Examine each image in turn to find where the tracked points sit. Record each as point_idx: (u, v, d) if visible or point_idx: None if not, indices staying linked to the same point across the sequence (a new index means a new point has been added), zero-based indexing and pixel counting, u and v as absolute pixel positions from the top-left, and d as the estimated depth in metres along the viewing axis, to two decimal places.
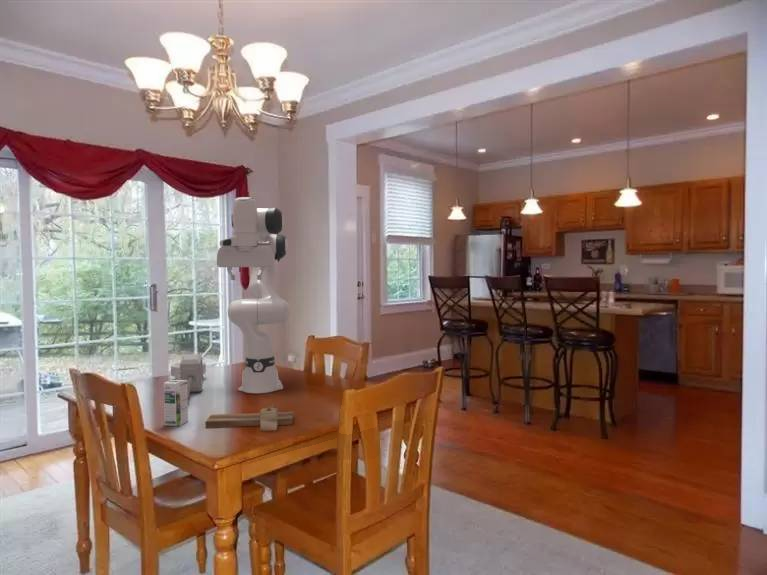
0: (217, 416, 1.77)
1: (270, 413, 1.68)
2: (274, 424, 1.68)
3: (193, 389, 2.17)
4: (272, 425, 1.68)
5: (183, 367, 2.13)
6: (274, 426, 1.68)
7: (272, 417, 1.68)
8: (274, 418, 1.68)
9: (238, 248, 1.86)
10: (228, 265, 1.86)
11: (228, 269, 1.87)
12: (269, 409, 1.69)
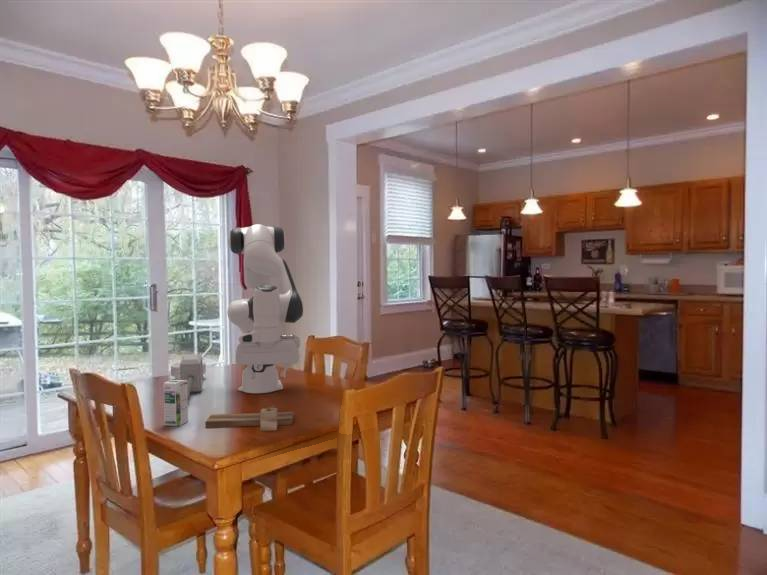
0: (217, 416, 1.77)
1: (270, 413, 1.68)
2: (274, 424, 1.68)
3: (193, 389, 2.17)
4: (272, 425, 1.68)
5: (183, 367, 2.13)
6: (274, 426, 1.68)
7: (272, 417, 1.68)
8: (274, 418, 1.68)
9: (259, 344, 1.66)
10: (248, 363, 1.67)
11: (248, 367, 1.67)
12: (269, 409, 1.69)
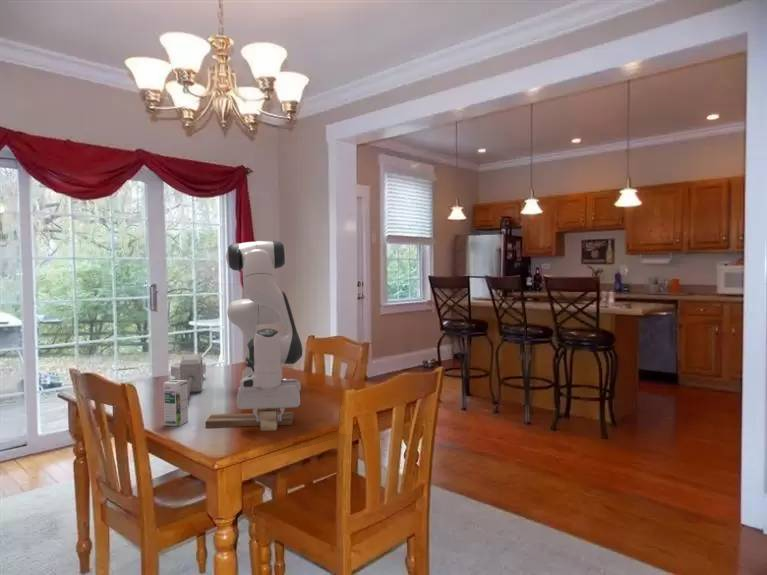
0: (217, 416, 1.77)
1: (270, 413, 1.68)
2: (274, 424, 1.68)
3: (193, 389, 2.17)
4: (272, 425, 1.68)
5: (183, 367, 2.13)
6: (274, 426, 1.68)
7: (272, 417, 1.68)
8: (274, 418, 1.68)
9: (260, 388, 1.67)
10: (249, 407, 1.67)
11: (254, 411, 1.68)
12: (269, 409, 1.69)
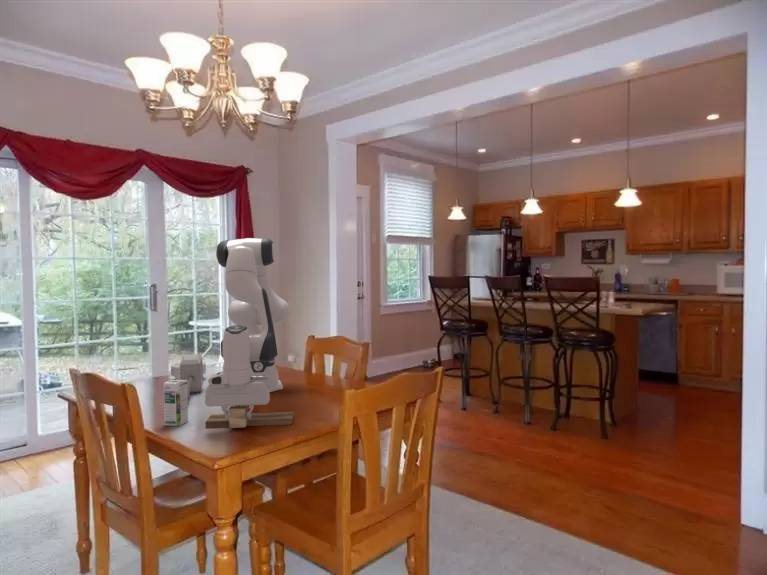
0: (217, 416, 1.77)
1: (239, 410, 1.67)
2: (243, 421, 1.67)
3: (193, 389, 2.17)
4: (241, 422, 1.67)
5: (183, 367, 2.13)
6: (243, 423, 1.67)
7: (241, 414, 1.67)
8: (243, 415, 1.67)
9: (229, 385, 1.66)
10: (218, 404, 1.66)
11: (223, 408, 1.67)
12: (238, 406, 1.68)
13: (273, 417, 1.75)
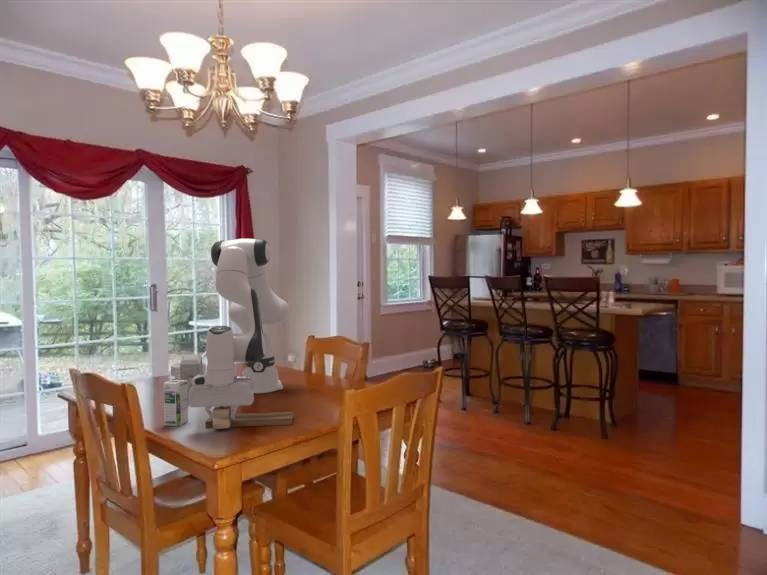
0: None
1: (222, 411, 1.66)
2: (226, 422, 1.67)
3: None
4: (224, 423, 1.67)
5: (183, 367, 2.13)
6: (226, 424, 1.67)
7: (224, 415, 1.67)
8: (226, 416, 1.67)
9: (212, 386, 1.66)
10: (201, 405, 1.66)
11: (206, 409, 1.67)
12: (222, 407, 1.68)
13: (273, 417, 1.75)
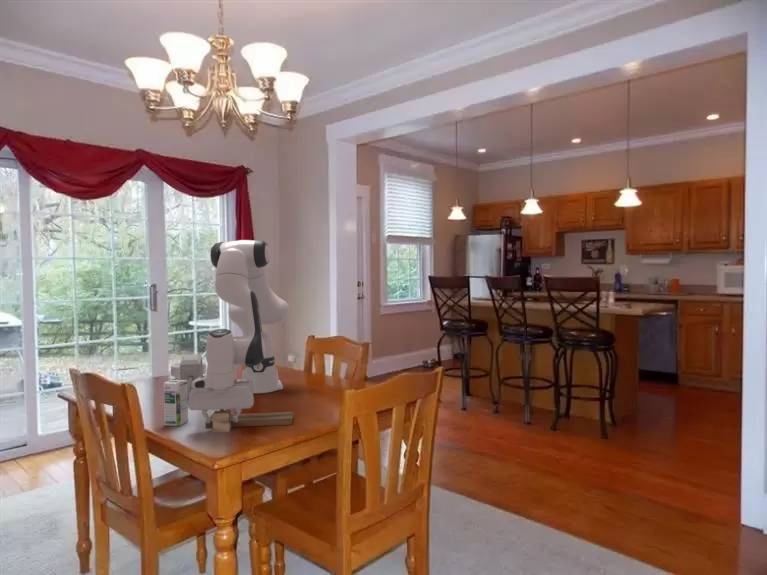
0: None
1: (222, 415, 1.67)
2: (227, 426, 1.67)
3: None
4: (225, 427, 1.67)
5: (183, 367, 2.13)
6: (227, 428, 1.67)
7: (225, 419, 1.67)
8: (227, 420, 1.67)
9: (212, 389, 1.66)
10: (201, 408, 1.66)
11: (203, 412, 1.67)
12: (222, 411, 1.68)
13: (273, 417, 1.75)
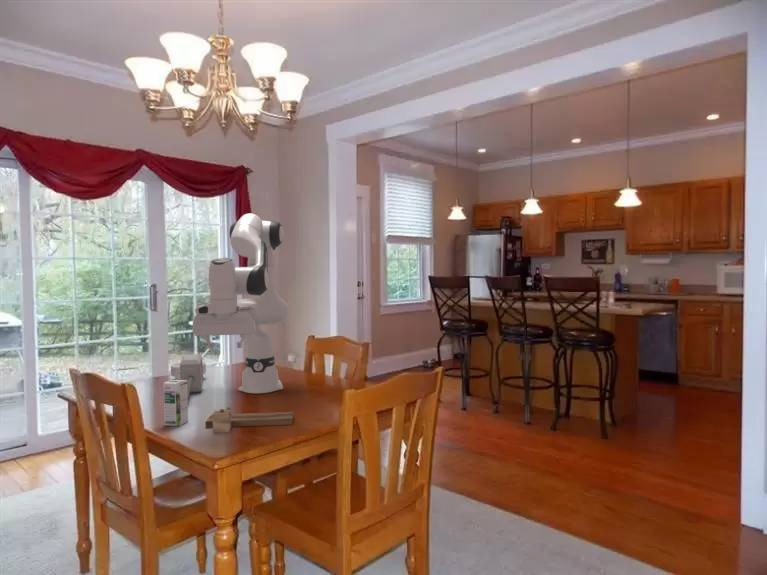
0: None
1: (222, 415, 1.67)
2: (227, 426, 1.67)
3: (193, 389, 2.17)
4: (225, 427, 1.67)
5: (183, 367, 2.13)
6: (227, 428, 1.67)
7: (225, 419, 1.67)
8: (227, 420, 1.67)
9: (215, 315, 1.71)
10: (205, 333, 1.72)
11: (205, 337, 1.73)
12: (222, 411, 1.68)
13: (273, 417, 1.75)
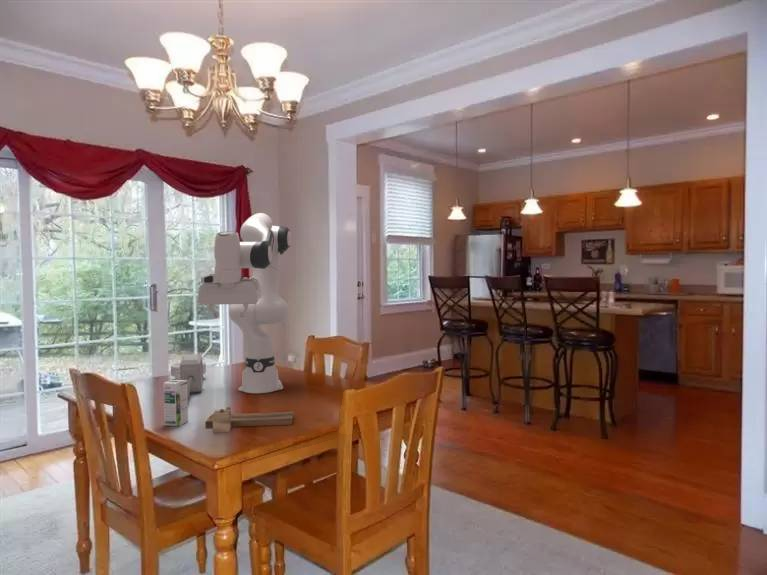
0: None
1: (222, 415, 1.67)
2: (227, 426, 1.67)
3: (193, 389, 2.17)
4: (225, 427, 1.67)
5: (183, 367, 2.13)
6: (227, 428, 1.67)
7: (225, 419, 1.67)
8: (227, 420, 1.67)
9: (220, 285, 1.79)
10: (210, 302, 1.79)
11: (210, 306, 1.80)
12: (222, 411, 1.68)
13: (273, 417, 1.75)
